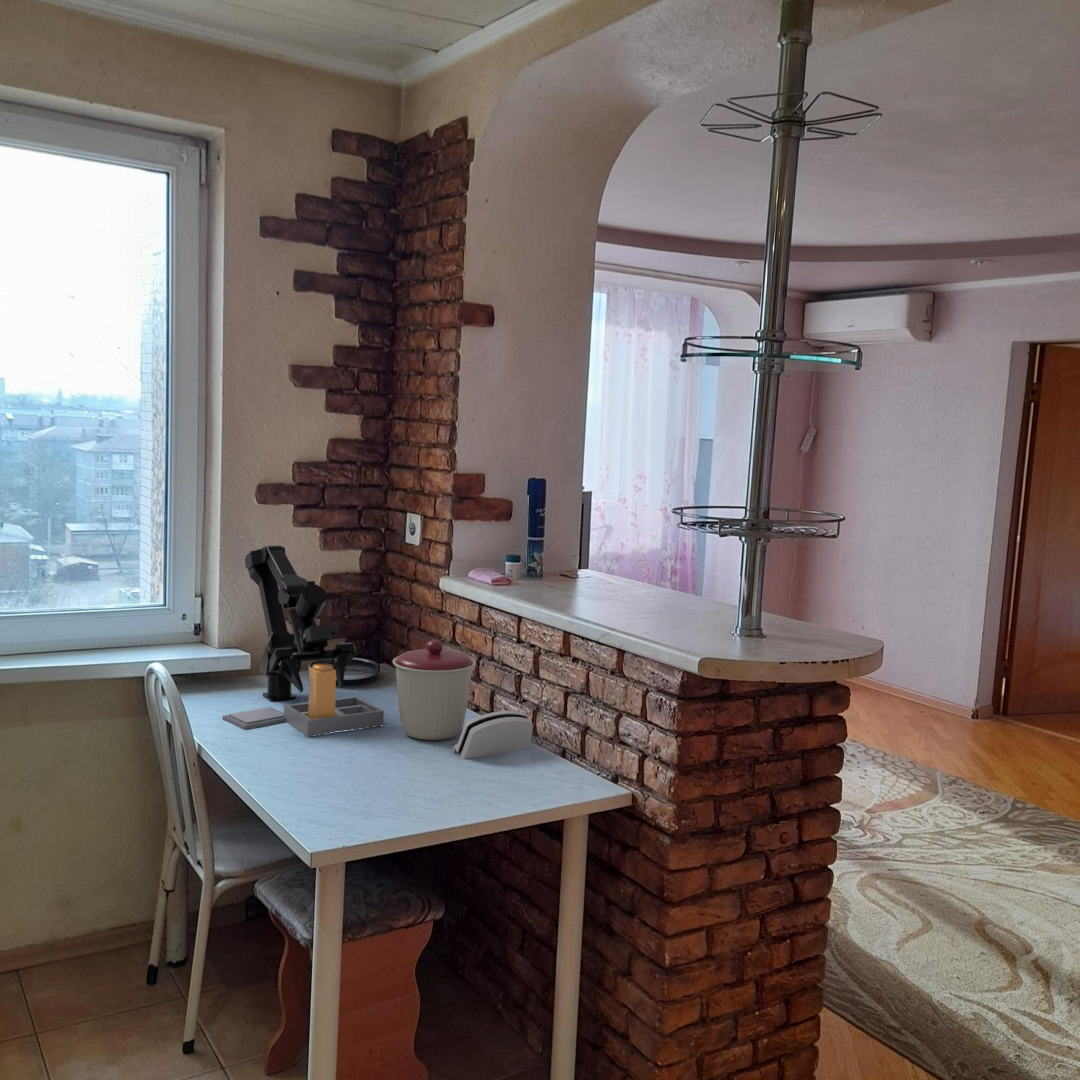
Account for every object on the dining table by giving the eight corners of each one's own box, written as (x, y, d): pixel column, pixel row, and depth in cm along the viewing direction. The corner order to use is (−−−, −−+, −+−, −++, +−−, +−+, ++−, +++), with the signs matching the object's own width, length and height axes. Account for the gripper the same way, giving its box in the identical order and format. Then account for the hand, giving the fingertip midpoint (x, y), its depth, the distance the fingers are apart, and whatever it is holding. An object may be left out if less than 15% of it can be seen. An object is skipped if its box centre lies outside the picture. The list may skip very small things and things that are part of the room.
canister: (410, 718, 239) (412, 629, 237) (483, 727, 235) (487, 636, 232) (377, 740, 222) (379, 644, 220) (456, 750, 217) (459, 652, 215)
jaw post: (308, 722, 229) (309, 664, 228) (327, 720, 232) (328, 662, 230) (315, 728, 225) (316, 668, 224) (334, 725, 228) (336, 666, 226)
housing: (283, 720, 234) (284, 705, 233) (357, 710, 244) (357, 696, 244) (307, 737, 222) (307, 721, 222) (383, 726, 233) (383, 710, 232)
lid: (222, 719, 233) (222, 713, 233) (270, 710, 241) (270, 705, 241) (244, 729, 226) (244, 724, 226) (292, 720, 234) (292, 715, 234)
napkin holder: (518, 741, 226) (528, 703, 222) (529, 754, 222) (539, 715, 218) (451, 752, 216) (460, 712, 213) (461, 765, 213) (470, 725, 209)
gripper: (274, 612, 225) (290, 673, 217) (354, 607, 235) (372, 665, 227) (262, 640, 233) (277, 700, 225) (340, 634, 243) (357, 691, 235)
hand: (322, 689), depth 228 cm, fingers open, 9 cm apart
